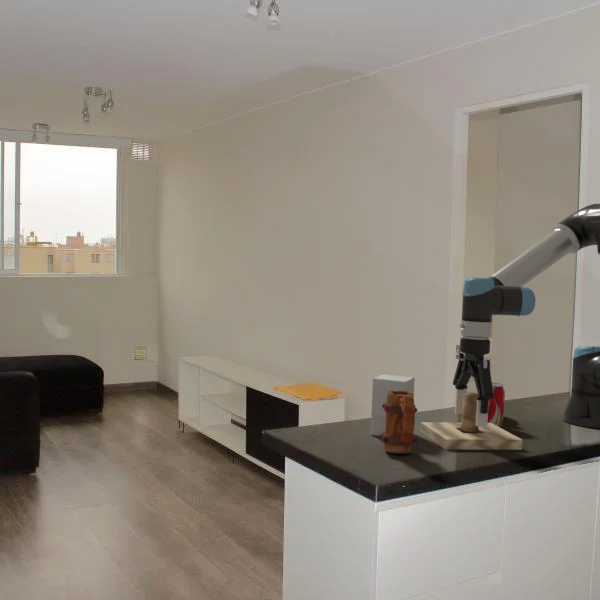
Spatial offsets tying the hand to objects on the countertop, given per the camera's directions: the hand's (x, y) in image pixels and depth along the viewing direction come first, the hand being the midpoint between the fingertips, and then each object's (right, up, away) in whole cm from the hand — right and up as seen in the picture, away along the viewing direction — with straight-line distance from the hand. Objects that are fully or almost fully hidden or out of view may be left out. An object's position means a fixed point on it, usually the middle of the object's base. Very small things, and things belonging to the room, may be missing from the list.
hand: (470, 419), depth 184 cm
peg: (0, -5, 0) cm, 5 cm away
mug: (-21, -6, -17) cm, 27 cm away
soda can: (+10, -5, +18) cm, 21 cm away
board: (0, -5, 0) cm, 5 cm away
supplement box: (-20, -4, +3) cm, 21 cm away
